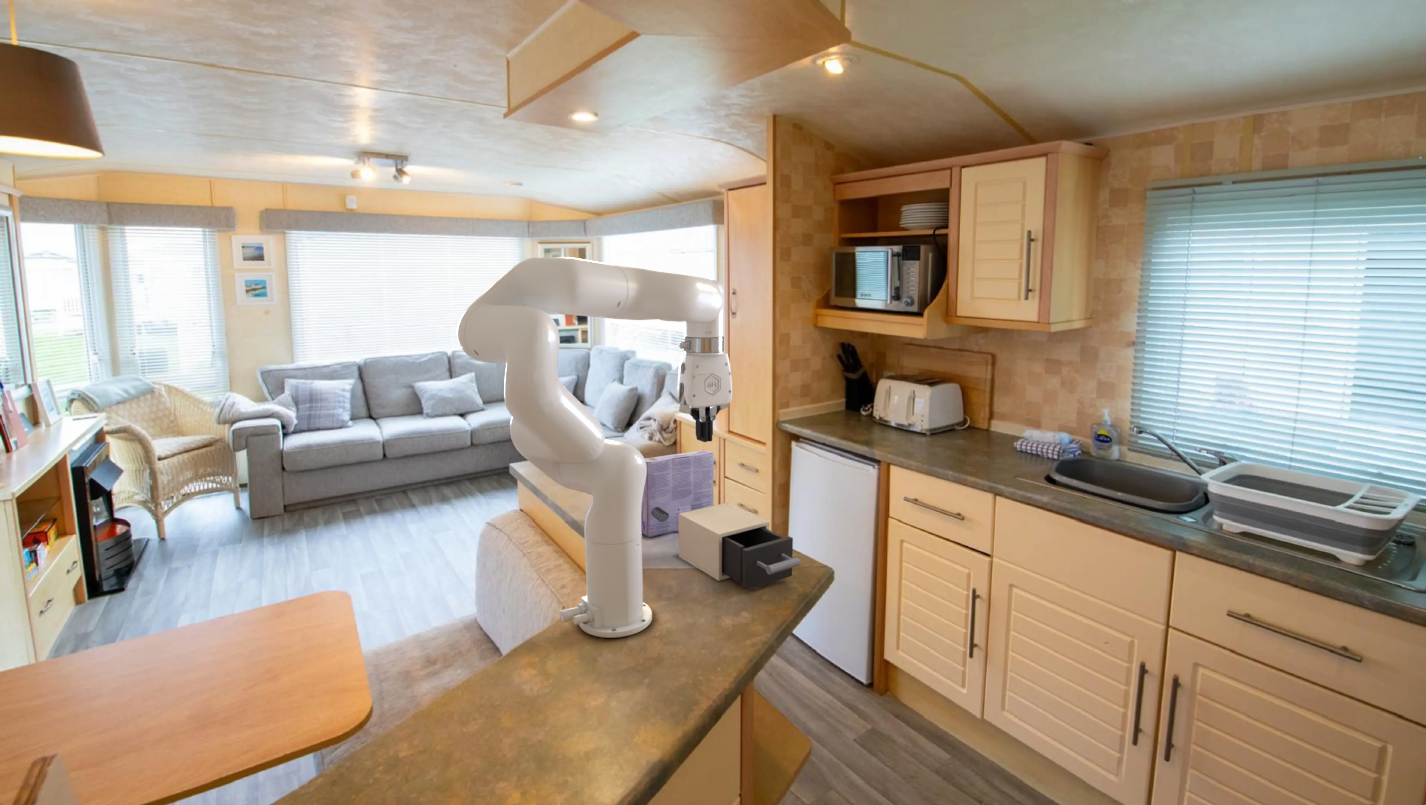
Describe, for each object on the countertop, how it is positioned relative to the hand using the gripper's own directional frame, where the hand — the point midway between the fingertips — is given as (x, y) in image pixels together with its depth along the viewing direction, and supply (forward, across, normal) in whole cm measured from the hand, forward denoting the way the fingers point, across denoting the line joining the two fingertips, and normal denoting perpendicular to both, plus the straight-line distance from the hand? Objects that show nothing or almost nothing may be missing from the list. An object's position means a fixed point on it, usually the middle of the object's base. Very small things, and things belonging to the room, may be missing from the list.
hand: (704, 440), depth 135 cm
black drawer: (+26, +6, -9) cm, 28 cm away
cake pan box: (+27, +9, +24) cm, 37 cm away
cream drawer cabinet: (+27, +6, +2) cm, 28 cm away
